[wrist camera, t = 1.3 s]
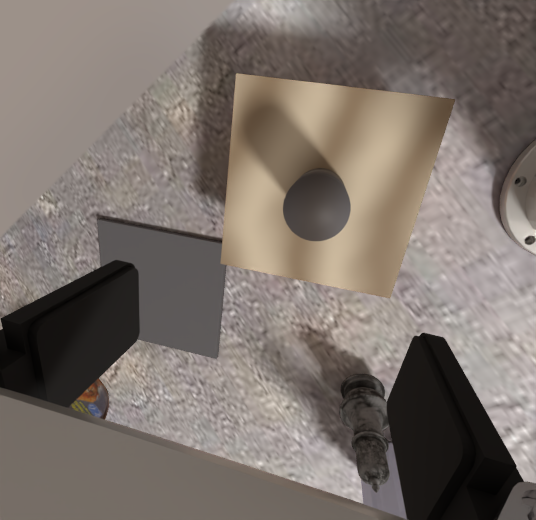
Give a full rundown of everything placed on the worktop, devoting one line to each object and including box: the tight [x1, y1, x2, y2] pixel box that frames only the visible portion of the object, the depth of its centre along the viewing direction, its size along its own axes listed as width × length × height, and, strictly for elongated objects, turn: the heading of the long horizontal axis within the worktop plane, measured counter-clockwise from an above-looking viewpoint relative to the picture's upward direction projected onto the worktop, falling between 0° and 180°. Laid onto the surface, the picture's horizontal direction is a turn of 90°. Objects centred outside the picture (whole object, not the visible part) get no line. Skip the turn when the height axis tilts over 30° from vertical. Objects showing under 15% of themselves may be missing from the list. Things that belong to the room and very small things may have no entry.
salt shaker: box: [339, 374, 390, 493], centre depth 32 cm, size 6×6×12 cm
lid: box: [221, 73, 455, 298], centre depth 21 cm, size 15×15×7 cm
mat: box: [97, 218, 226, 359], centre depth 38 cm, size 16×16×1 cm
